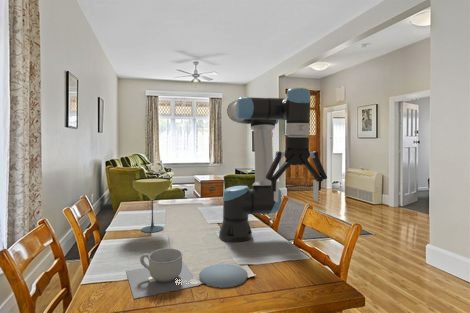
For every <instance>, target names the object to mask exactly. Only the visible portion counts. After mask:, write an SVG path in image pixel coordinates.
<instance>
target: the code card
mask: <svg viewBox="0 0 470 313" xmlns="http://www.w3.org/2000/svg"><path fill="white" fill-rule="evenodd" d="M125 272H126V276H127V279H128V283H129V288H130V290H131V294H132V298H133V300H136V299H137V300H138V299H141V298H146V297H150V296H156V295H161V294H165V293H171V292H175V291H181V290H185V289H189V288H195V287H200V286H201V284H199V283H200V282H199V283H198V284H191V283H190V282H191V281H190V280H191V279H194V278H193V277H195V276H194V274H193V273H192V271H191V270H190V269H189V267H188V266H187V264H186V263H185V262H184V261H183V260H182V270H181V273H180V274H179V276H177V277H176V278H177V279H178V280H179V279H180V280H181V279H182V280H183V282H184V281H185V280H186V281H187V282H186V281H185V282H184V283H183V282H182V285H181V283H180V284H179V285H178V283H177V285H176V283H175V281H176V280H177V279H176V278H175V279H176V280H175V279H174V280H172V281H169V282H159V281H157V280H155V279H154V278H152V276H151V275H150V271H149V270H148V269H147V268H145V267H142V268H135V269H129V270H126V271H125ZM182 280H181V281H182ZM181 281H180V282H181ZM188 281H190V282H188ZM178 282H179V281H178ZM186 283H187V284H186ZM188 283H189V284H188ZM199 285H200V286H199Z"/></svg>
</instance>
